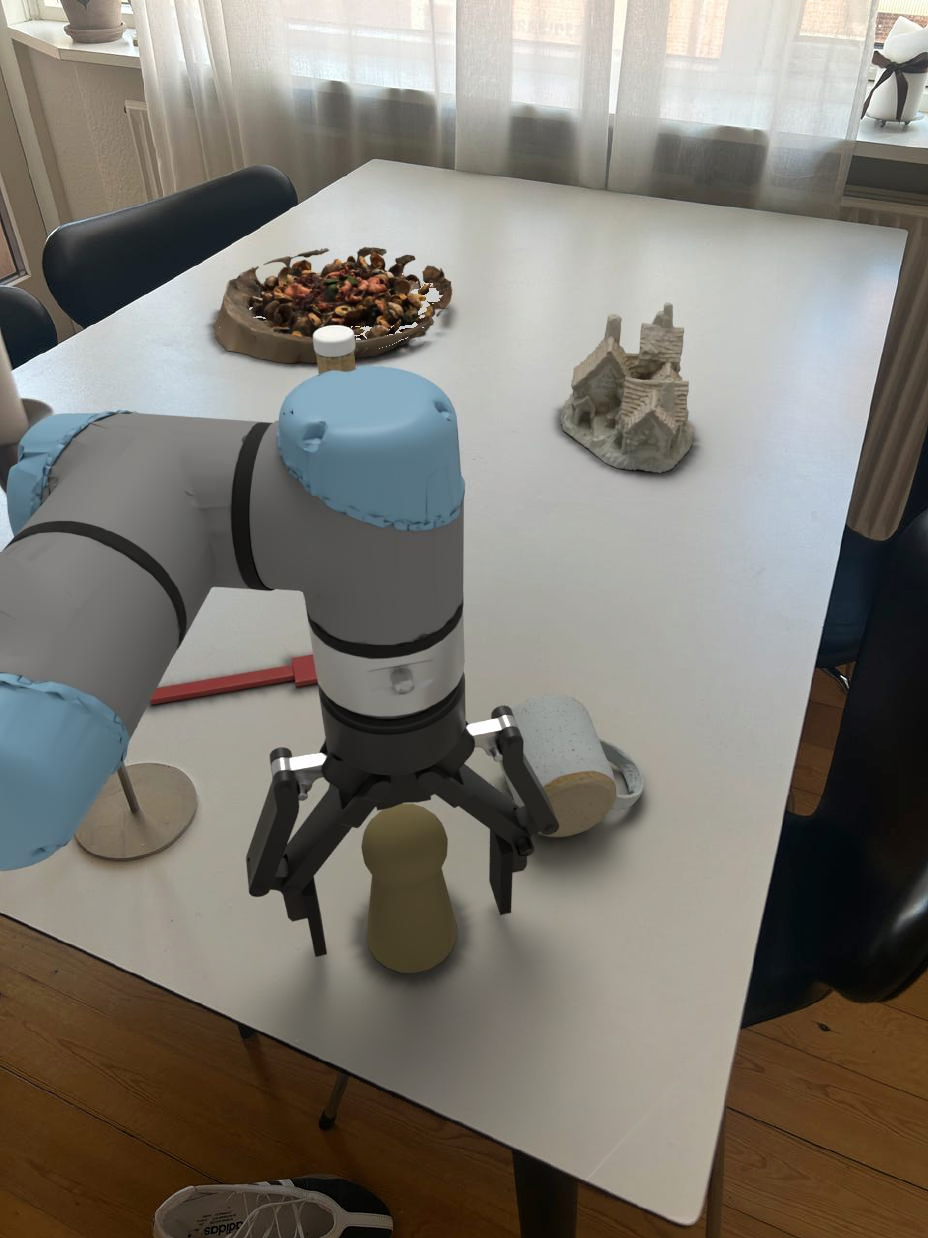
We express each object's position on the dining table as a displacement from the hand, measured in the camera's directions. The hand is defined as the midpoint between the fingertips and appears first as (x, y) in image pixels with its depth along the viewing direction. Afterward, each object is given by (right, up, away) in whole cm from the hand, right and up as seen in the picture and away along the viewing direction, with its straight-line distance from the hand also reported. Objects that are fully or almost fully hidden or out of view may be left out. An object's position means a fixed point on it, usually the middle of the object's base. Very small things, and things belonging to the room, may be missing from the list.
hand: (410, 917), depth 63 cm
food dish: (-16, +64, +80) cm, 103 cm away
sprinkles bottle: (-11, +40, +51) cm, 66 cm away
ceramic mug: (+11, +6, +10) cm, 16 cm away
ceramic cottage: (+22, +41, +52) cm, 70 cm away
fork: (-13, +14, +20) cm, 28 cm away
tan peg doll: (0, -1, +1) cm, 2 cm away
